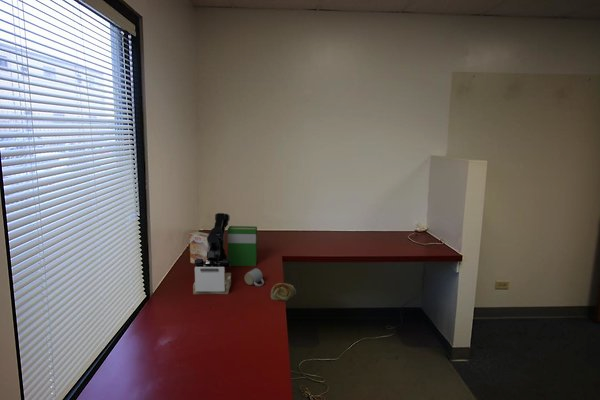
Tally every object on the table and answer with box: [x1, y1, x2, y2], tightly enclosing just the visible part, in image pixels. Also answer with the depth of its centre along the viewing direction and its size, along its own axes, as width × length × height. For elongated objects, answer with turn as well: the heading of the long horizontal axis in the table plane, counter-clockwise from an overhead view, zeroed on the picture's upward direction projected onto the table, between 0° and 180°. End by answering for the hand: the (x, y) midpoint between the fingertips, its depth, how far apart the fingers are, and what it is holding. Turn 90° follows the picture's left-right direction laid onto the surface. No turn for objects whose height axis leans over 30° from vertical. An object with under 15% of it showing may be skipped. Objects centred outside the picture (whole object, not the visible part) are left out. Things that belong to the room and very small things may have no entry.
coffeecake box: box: [189, 231, 210, 267], centre depth 233 cm, size 15×7×20 cm, turn 62°
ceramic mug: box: [243, 268, 265, 287], centre depth 205 cm, size 11×8×8 cm
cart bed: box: [192, 272, 232, 295], centre depth 198 cm, size 13×18×6 cm
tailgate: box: [194, 266, 226, 291], centre depth 189 cm, size 2×15×13 cm, turn 94°
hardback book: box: [227, 225, 258, 267], centre depth 234 cm, size 18×7×24 cm, turn 91°
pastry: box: [270, 282, 297, 302], centre depth 191 cm, size 14×12×8 cm
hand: (211, 278), depth 193 cm, fingers closed
